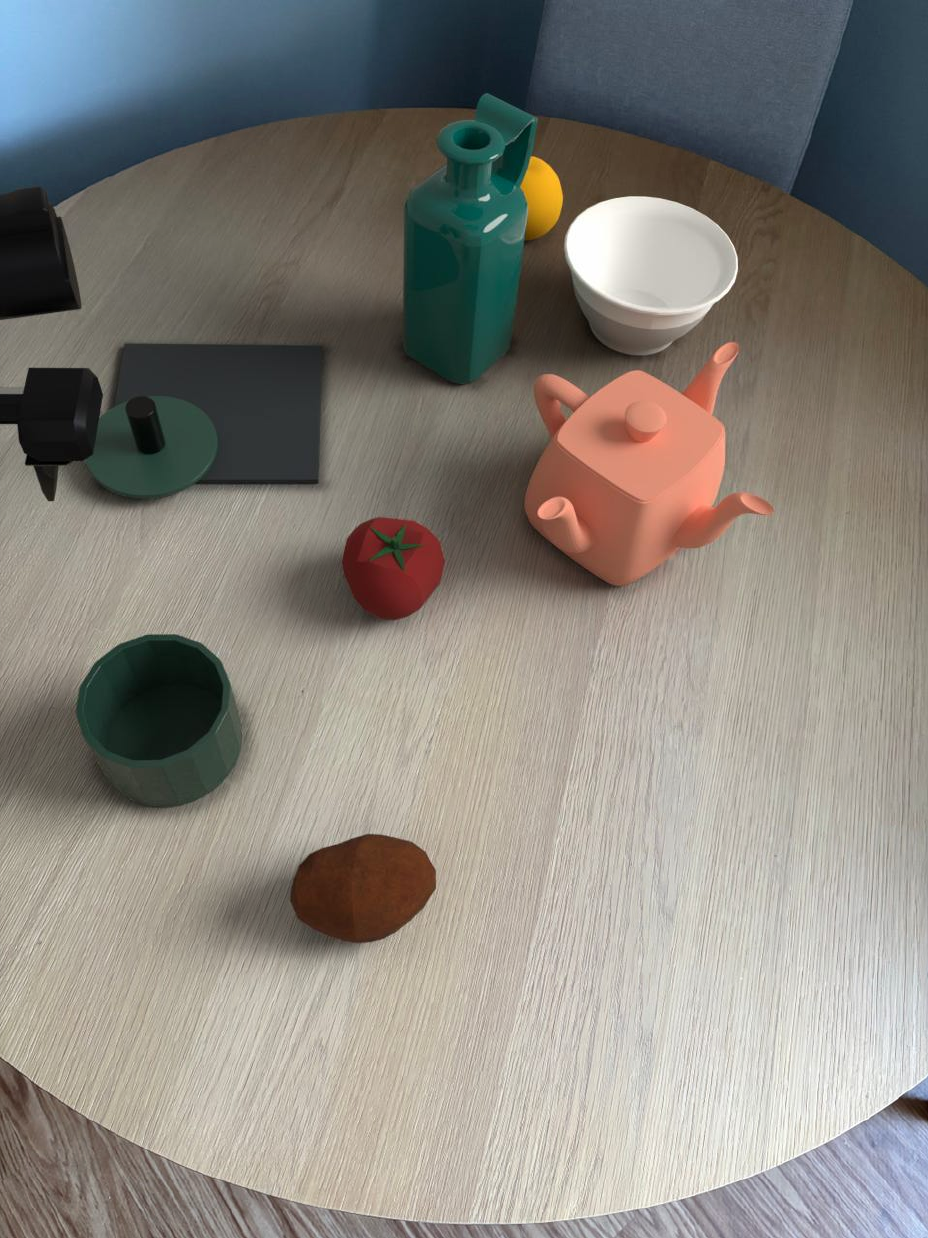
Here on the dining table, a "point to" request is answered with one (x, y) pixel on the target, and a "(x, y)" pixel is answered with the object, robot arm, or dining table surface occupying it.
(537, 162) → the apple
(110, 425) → the tin lid
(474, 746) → the dining table surface
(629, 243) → the bowl
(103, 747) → the tin
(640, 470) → the pot
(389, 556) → the tomato
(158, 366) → the mat
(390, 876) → the potato
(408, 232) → the pitcher
